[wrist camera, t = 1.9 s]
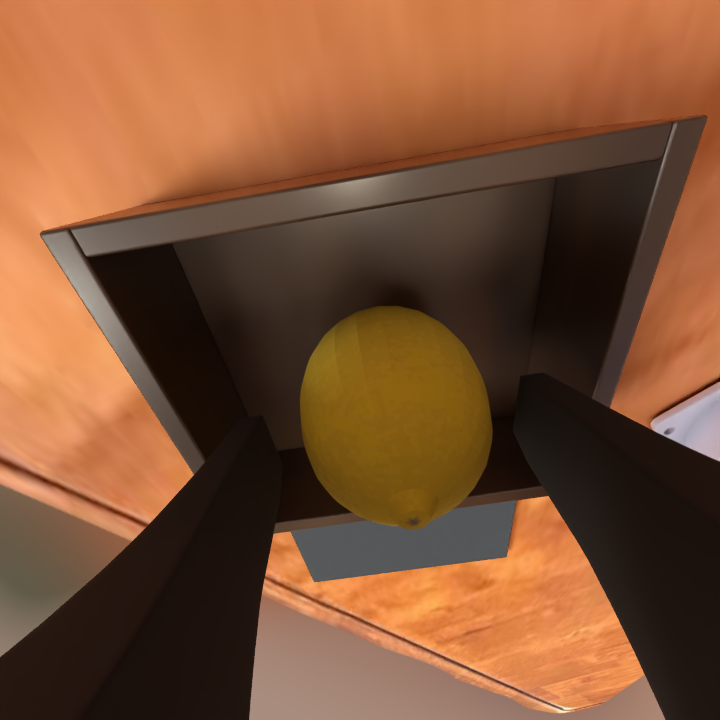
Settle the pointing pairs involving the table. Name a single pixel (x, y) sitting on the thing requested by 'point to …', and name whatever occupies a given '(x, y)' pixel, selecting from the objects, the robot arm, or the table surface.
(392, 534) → the placemat
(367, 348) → the lemon
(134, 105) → the table surface
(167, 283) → the dark brown shallow box
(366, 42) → the table surface
